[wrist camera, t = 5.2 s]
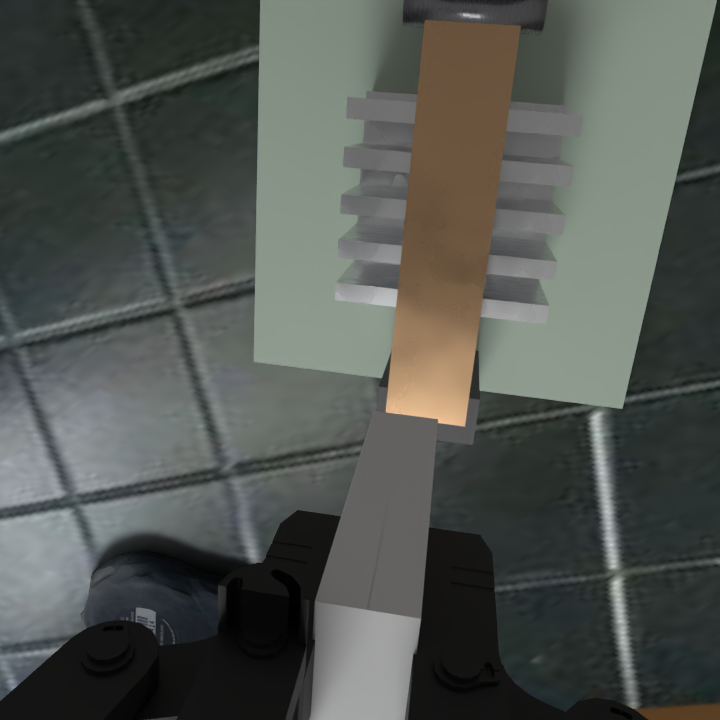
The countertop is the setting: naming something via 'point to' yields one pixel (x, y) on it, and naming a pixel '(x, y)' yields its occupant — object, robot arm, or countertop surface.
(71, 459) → the countertop surface
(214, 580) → the electronic device
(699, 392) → the countertop surface
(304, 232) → the board
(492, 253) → the heatsink
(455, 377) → the strap
